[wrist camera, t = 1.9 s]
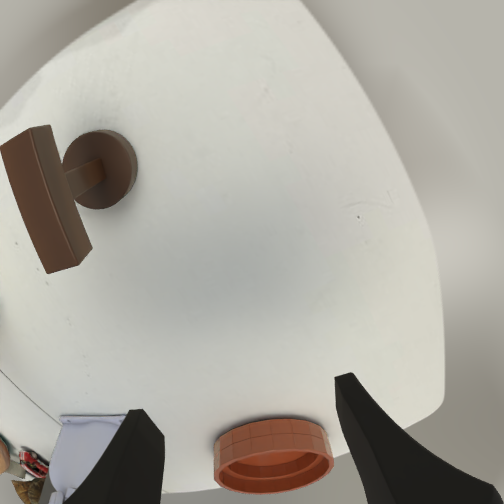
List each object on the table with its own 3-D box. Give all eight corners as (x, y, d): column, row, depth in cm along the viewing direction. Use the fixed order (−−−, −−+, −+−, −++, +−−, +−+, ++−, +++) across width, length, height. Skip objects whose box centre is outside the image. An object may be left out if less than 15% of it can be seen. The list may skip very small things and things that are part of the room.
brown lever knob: (87, 221, 17) (26, 281, 11) (59, 136, 15) (-21, 159, 8) (150, 200, 17) (106, 258, 11) (122, 109, 15) (57, 112, 8)
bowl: (231, 472, 32) (232, 499, 28) (197, 425, 27) (196, 460, 23) (327, 454, 31) (334, 481, 28) (322, 402, 26) (332, 436, 23)
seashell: (53, 474, 33) (70, 517, 29) (66, 475, 40) (81, 511, 36) (0, 479, 27) (16, 520, 23) (19, 480, 34) (33, 516, 30)
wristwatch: (10, 450, 31) (2, 472, 27) (36, 470, 34) (30, 491, 29) (-11, 448, 32) (-19, 467, 28) (13, 466, 35) (6, 485, 30)
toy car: (54, 473, 34) (50, 488, 31) (18, 447, 30) (12, 462, 27) (66, 473, 33) (62, 489, 30) (28, 446, 30) (22, 463, 27)
